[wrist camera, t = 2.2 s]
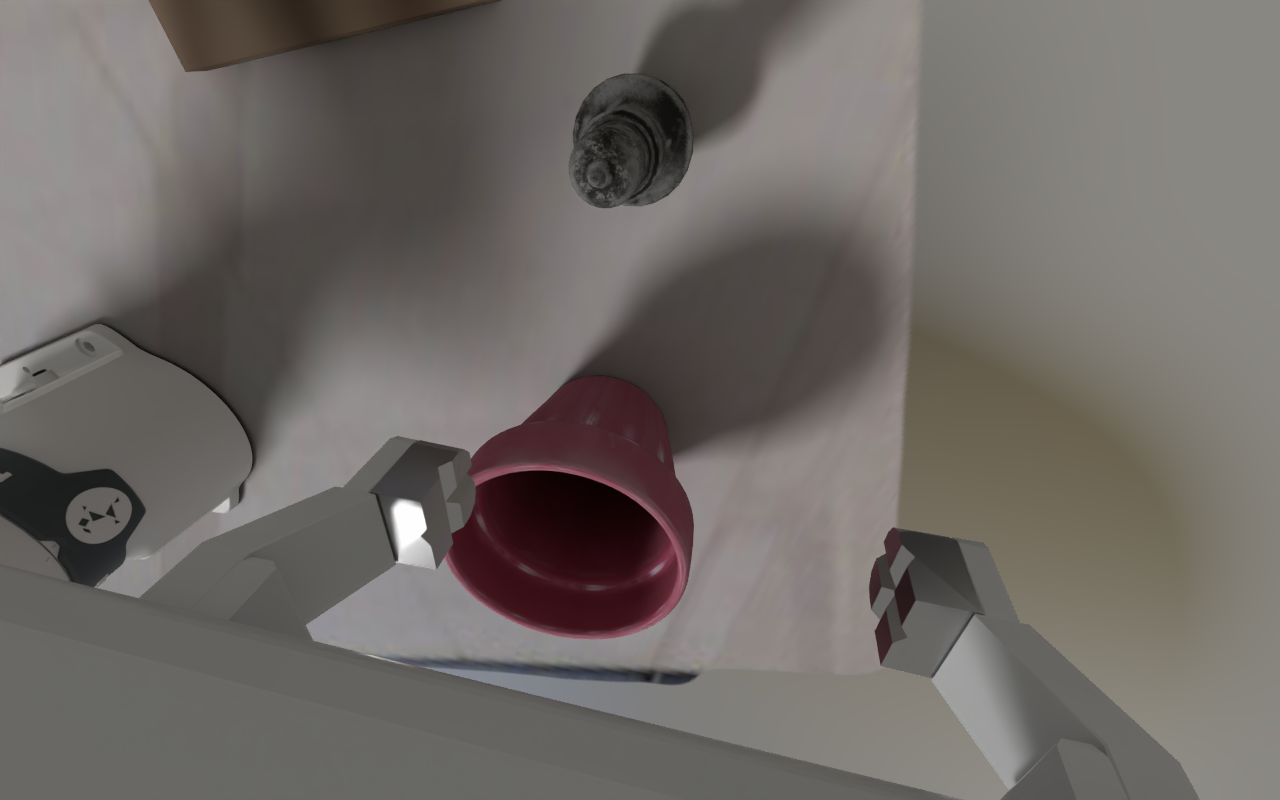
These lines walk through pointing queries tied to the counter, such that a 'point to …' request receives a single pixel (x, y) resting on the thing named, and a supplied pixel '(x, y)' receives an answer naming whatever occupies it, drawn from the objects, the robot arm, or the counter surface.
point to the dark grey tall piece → (630, 142)
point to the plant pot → (578, 516)
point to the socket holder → (279, 25)
